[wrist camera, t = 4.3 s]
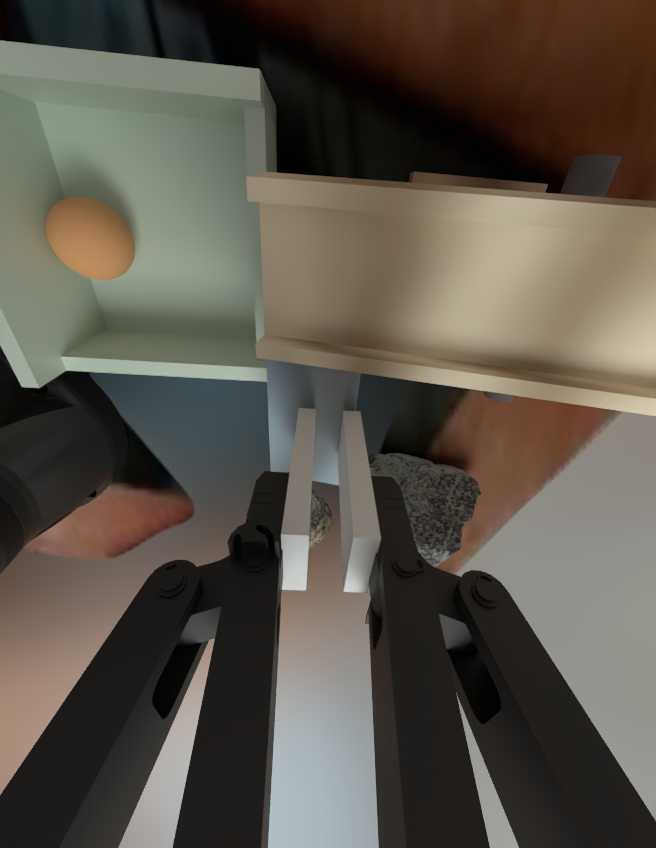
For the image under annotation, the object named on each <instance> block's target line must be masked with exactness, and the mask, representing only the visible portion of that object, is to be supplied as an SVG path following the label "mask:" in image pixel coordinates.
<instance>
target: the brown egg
mask: <svg viewBox="0 0 656 848" xmlns="http://www.w3.org/2000/svg"><path fill="white" fill-rule="evenodd" d="M45 229H46V235H47V239H48V241H49V244H50V246H51V248H52V249H53V251H54V252H55V254H56V255H57V256H58V258H59V259H60V260H61V261H62V262H63V263H64V264H65V265H67V266H68V267H69V268H70V269H72V270H73V271H75V272H77V273H79V274H81V275H83V276H86V277H88V278H92V279H97V280H109V279H114V278H117V277H119V276H121V275H123V274H124V273H125V272H127V271H128V270H129V268H130V267H131V265H132V263H133V261H134V257H135V244H134V240H133V237H132V234H131V232H130V230H129V228H128V226H127V225H126V223H125V222H124V221H123V219H122V218H121V217H120V216H119V215H118V214H117V213H116V212H115V211H113V210H112V209H111V208H109V207H108V206H106V205H105V204H103V203H101V202H99V201H96V200H94V199H90V198H86V197H69V198H65V199H62V200H60V201H58V202H57V203H56V204H54V205H53V206H52V208H51V209H50V211H49V212H48V214H47V218H46V223H45Z"/></svg>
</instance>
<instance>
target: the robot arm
mask: <svg viewBox="0 0 656 848" xmlns="http://www.w3.org/2000/svg"><path fill="white" fill-rule="evenodd" d="M315 419H316V409H309V408H299V410H298V417H297V424H296V431H295V438H294V445H293V452H292V459H291V467H290V473H289V472H269V471H268V472H267V471H265V472H264V473H263V474H262V475H261V476H260V477H259V478H258V480H257V481H256V484H255V488H254V493H253V496H252V500H251V504H250V508H249V511H248V515H247V519H246V523H245V524H243V525H241V526H239V527H238V528H237V529H236V530H235V531H234V532H233V533H231V536H230V538H229V540H228V546H229V553H230V555H229V556H228V557H226V558H224V559H222V560H220V561H217V562H214V563H211V564H207V565H202V566H199V567H196V566H195V565H194V564H193V563H191V562H189V561H187V560H175V561H171V562H168V563H165V564H164V565H162V566H161V567H159V568H157V569H156V570H155V571H154V572H153V573H152V574H151V575H150V576H149V577H148V579H147V580H146V582H145V583H144V585H143V586H142V588H141V589H140V591H139V592H138V594H137V595H136V596H135V598H134V599H133V601H132V602H131V604H130V605H129V607H128V608H127V610H126V611H125V613H124V614H123V616H122V617H121V618H120V620H119V621H118V623H117V624H116V626H115V627H114V629H113V630H112V632H111V633H110V635H109V636H108V638H107V639H106V641H105V642H104V643H103V645H102V646H101V648H100V650H99V651H98V652H97V654H96V655H95V657H94V658H93V660H92V661H91V663H90V664H89V666H88V667H87V668H86V670H85V671H84V673H83V674H82V676H81V677H80V679H79V680H78V682H77V683H76V685H75V686H74V688H73V689H72V691H71V692H70V693H69V695H68V696H67V698H66V699H65V701H64V702H63V704H62V705H61V707H60V708H59V710H58V711H57V713H56V714H55V716H54V717H53V718H52V720H51V721H50V723H49V724H48V726H47V727H46V729H45V730H44V732H43V733H42V735H41V736H40V738H39V739H38V741H37V742H36V743H35V745H34V746H33V748H32V750H31V751H30V753H29V754H28V755H27V757H26V758H25V760H24V761H23V763H22V764H21V766H20V767H19V768H18V770H17V771H16V773H15V774H14V776H13V777H12V779H11V780H10V782H9V783H8V785H7V786H6V788H5V789H4V791H3V792H2V794H1V795H0V848H118V847H119V844H120V842H121V840H122V838H123V835H124V833H125V831H126V828H127V826H128V824H129V822H130V819H131V817H132V815H133V812H134V810H135V808H136V806H137V803H138V801H139V799H140V796H141V794H142V792H143V790H144V787H145V785H146V783H147V780H148V778H149V776H150V774H151V771H152V769H153V767H154V765H155V762H156V760H157V758H158V756H159V753H160V751H161V749H162V746H163V744H164V742H165V739H166V737H167V735H168V732H169V730H170V728H171V726H172V724H173V721H174V719H175V717H176V714H177V712H178V710H179V708H180V705H181V703H182V701H183V698H184V696H185V694H186V692H187V689H188V687H189V684H190V682H191V680H192V678H193V675H194V673H195V671H196V669H197V666H198V664H199V662H200V660H201V657H202V655H203V653H204V650H205V648H206V646H207V644H208V641H209V640H210V639H214V638H215V641H214V646H213V651H212V656H211V661H210V666H209V671H208V676H207V681H206V686H205V690H204V695H203V701H202V706H201V711H200V715H199V720H198V725H197V730H196V735H195V740H194V745H193V750H192V755H191V760H190V765H189V770H188V774H187V779H186V785H185V789H184V794H183V799H182V804H181V809H180V814H179V819H178V824H177V829H176V834H175V839H174V844H173V848H268V832H269V813H270V795H271V776H272V759H273V740H274V722H275V704H276V685H277V667H278V647H279V630H280V612H281V603H280V602H281V592H282V589H283V590H306V581H307V563H308V548H309V531H310V512H311V494H312V475H313V456H314V438H315ZM127 453H128V438H127V433H126V429H125V426H124V424H123V421H122V419H121V417H120V415H119V413H118V411H117V409H116V408H115V406H114V405H113V403H112V401H111V400H110V399H109V397H108V396H107V395H106V394H105V393H104V391H103V390H102V389H101V388H100V387H99V386H98V385H97V384H96V383H95V382H94V381H93V380H92V379H91V378H90V377H89V376H88V375H87V374H86V373H85V372H83V371H65V372H63V373H62V374H60V375H59V376H57V377H56V378H54V379H53V380H51V381H50V382H48V383H46V384H45V385H43V386H42V387H40V388H27V387H22V386H21V384H20V382H19V381H18V379H17V377H16V375H15V373H14V371H13V369H12V367H11V365H10V363H9V361H8V359H7V357H6V355H5V354H4V352H3V350H2V348H1V346H0V574H1V573H2V572H3V571H4V569H5V568H6V567H7V566H8V565H9V564H10V562H11V561H12V560H13V559H14V558H15V557H16V556H17V554H18V553H19V552H20V551H21V550H22V549H23V548H24V547H25V546H26V545H27V544H28V543H29V542H30V541H31V540H33V539H34V538H36V537H37V536H39V535H40V534H42V533H43V532H45V531H46V530H48V529H49V528H51V527H52V526H54V525H55V524H57V523H58V522H60V521H61V520H63V519H64V518H65V517H67V516H68V515H69V514H71V513H72V512H73V511H74V510H76V509H77V508H78V507H80V506H83V505H85V504H87V503H88V502H90V501H92V500H93V499H95V498H96V497H97V496H99V495H100V494H101V493H102V492H103V491H104V490H105V489H106V488H107V487H108V486H109V485H110V483H111V482H112V481H113V479H114V478H115V477H116V475H117V474H118V473H119V471H120V470H121V469H122V467H123V465H124V463H125V461H126V458H127ZM338 474H339V497H340V521H341V542H342V543H341V545H342V568H343V591H344V592H367V591H368V588H369V587H370V595H371V601H370V604H369V608H368V611H367V615H366V621H365V623H367V624H369V633H370V655H371V678H372V701H373V723H374V747H375V768H376V769H375V770H376V793H377V814H378V815H377V816H378V838H379V848H490V846H489V842H488V837H487V833H486V828H485V823H484V819H483V815H482V810H481V805H480V800H479V796H478V791H477V787H476V782H475V777H474V773H473V768H472V764H471V759H470V754H469V750H468V745H467V741H466V736H465V732H464V727H463V722H462V718H461V713H460V709H459V704H458V699H457V695H458V698H459V700H460V703H461V705H462V708H463V710H464V712H465V715H466V718H467V720H468V722H469V725H470V727H471V730H472V732H473V735H474V737H475V740H476V742H477V745H478V747H479V749H480V752H481V755H482V757H483V759H484V762H485V764H486V767H487V769H488V772H489V774H490V777H491V779H492V782H493V784H494V787H495V789H496V791H497V794H498V796H499V799H500V801H501V804H502V806H503V809H504V811H505V814H506V816H507V819H508V821H509V823H510V826H511V828H512V831H513V833H514V836H515V838H516V841H517V843H518V846H519V848H656V821H655V819H654V818H653V816H652V815H651V813H650V812H649V810H648V809H647V807H646V806H645V804H644V802H643V801H642V799H641V798H640V796H639V795H638V793H637V791H636V790H635V788H634V787H633V785H632V784H631V782H630V781H629V779H628V778H627V776H626V774H625V773H624V772H623V770H622V768H621V767H620V765H619V764H618V762H617V760H616V759H615V757H614V756H613V754H612V753H611V751H610V749H609V748H608V746H607V745H606V743H605V742H604V740H603V739H602V737H601V735H600V734H599V732H598V731H597V729H596V728H595V726H594V725H593V723H592V722H591V720H590V718H589V717H588V715H587V714H586V712H585V711H584V709H583V708H582V706H581V704H580V703H579V701H578V700H577V698H576V697H575V695H574V694H573V692H572V690H571V689H570V687H569V686H568V684H567V683H566V681H565V680H564V678H563V677H562V675H561V673H560V672H559V670H558V669H557V667H556V666H555V664H554V662H553V661H552V660H551V658H550V656H549V655H548V653H547V652H546V650H545V649H544V647H543V646H542V644H541V642H540V641H539V639H538V638H537V636H536V635H535V633H534V632H533V630H532V628H531V627H530V625H529V624H528V622H527V621H526V619H525V617H524V616H523V614H522V613H521V611H520V610H519V608H518V607H517V605H516V603H515V602H514V600H513V599H512V597H511V596H510V594H509V593H508V591H507V590H506V589H505V587H504V586H503V585H502V584H501V583H500V581H498V580H497V579H496V578H494V577H493V576H491V575H490V574H487V573H485V572H482V571H474V570H471V571H469V572H466V573H464V574H463V576H462V577H460V576H457V575H454V574H451V573H448V572H445V571H442V570H440V569H438V568H436V567H434V566H432V565H431V564H429V563H428V562H427V561H426V560H425V559H424V558H423V557H422V555H421V554H420V553H419V552H418V549H417V547H416V544H415V540H414V536H413V533H412V529H411V525H410V521H409V517H408V514H407V510H406V506H405V502H404V500H403V499H404V498H403V495H402V491H401V487H400V486H399V485H398V483H397V482H396V481H395V480H394V478H393V477H383V476H371V474H370V467H369V461H368V456H367V450H366V443H365V437H364V431H363V425H362V419H361V412H360V411H343V417H342V426H341V435H340V443H339V452H338ZM456 693H457V695H456Z"/></svg>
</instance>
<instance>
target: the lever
mask: <svg viewBox="0 0 656 848" xmlns="http://www.w3.org/2000/svg"><path fill="white" fill-rule="evenodd" d="M621 159H622V157H621V156H616V155H603V154H593V155H580V156H575V157H574V159H573V161H572V164H571V166H570V169H569V171H568V174H567V177H566V179H565V182H564V184H563V187H562V190H561V192H560V194H554V193H541V192H527V191H514V190H501V189H487V188H474V187H461V186H448V185H434V184H421V183H408V182H394V181H381V180H368V179H355V178H341V177H328V176H315V175H301V174H288V173H275V172H262V171H258V177H249V176H246V187H247V201H249V202H259V206H260V231H261V256H262V281H263V307H264V332H265V335H263V336H262V337H261V338H260V339H259V340H258V341H257V342H256V343H255V345H256V358H262V359H266V361H267V386H268V412H269V413H268V414H269V439H270V463H271V464H270V466H271V472H289V473H290V467H291V459H292V452H293V445H294V438H295V431H296V424H297V417H298V410H299V408H309V409H316V419H315V438H314V456H313V475H312V481H318V482H323V483H328V484H334V485H339V474H338V452H339V443H340V435H341V426H342V417H343V411H355V410H356V402H357V394H358V388H359V380H360V374H361V373H365V374H372V375H378V376H385V377H392V378H400V379H406V380H412V381H419V382H426V383H433V384H440V385H447V386H454V387H460V388H467V389H474V390H481V391H483V393H484V395H485V396H487V397H488V398H490V399H492V400H495V401H499V402H511V401H512V400H513V398H514V396H522V397H529V398H536V399H543V400H549V401H556V402H563V403H570V404H577V405H584V406H591V407H597V408H604V409H611V410H618V411H625V412H632V413H639V414H645V415H653V416H656V201H647V200H634V199H620V198H607V197H605V195H606V193H607V190H608V188H609V186H610V184H611V182H612V179H613V177H614V175H615V173H616V170H617V168H618V166H619V164H620V162H621Z"/></svg>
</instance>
